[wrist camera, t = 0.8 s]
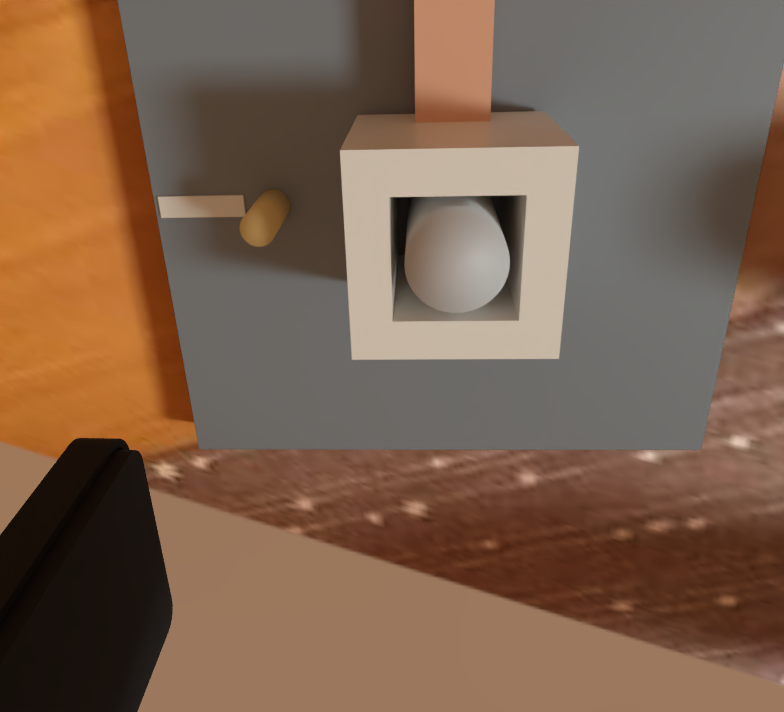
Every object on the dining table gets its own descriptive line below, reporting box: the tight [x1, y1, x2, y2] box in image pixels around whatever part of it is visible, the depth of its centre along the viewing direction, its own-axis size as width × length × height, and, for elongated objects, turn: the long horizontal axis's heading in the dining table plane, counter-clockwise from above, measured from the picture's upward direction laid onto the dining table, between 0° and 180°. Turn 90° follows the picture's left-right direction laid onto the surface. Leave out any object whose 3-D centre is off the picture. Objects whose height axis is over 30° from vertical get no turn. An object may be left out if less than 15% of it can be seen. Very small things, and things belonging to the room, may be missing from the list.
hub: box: [340, 0, 579, 360], centre depth 22 cm, size 11×6×6 cm, turn 1°
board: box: [118, 0, 784, 450], centre depth 24 cm, size 22×22×9 cm
